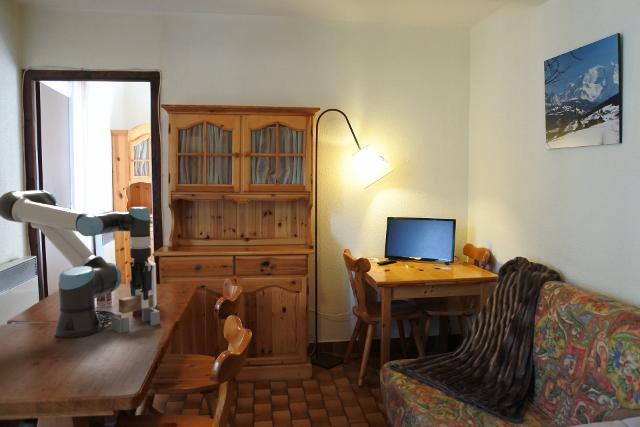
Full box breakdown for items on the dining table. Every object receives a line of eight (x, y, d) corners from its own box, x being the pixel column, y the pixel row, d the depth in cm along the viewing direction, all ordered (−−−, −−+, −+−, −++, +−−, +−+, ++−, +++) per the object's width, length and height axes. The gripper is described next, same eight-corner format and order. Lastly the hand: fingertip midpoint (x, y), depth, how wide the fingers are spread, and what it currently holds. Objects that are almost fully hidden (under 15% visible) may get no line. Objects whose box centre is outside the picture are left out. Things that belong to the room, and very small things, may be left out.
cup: (142, 317, 203) (141, 281, 201) (127, 316, 204) (126, 280, 203) (151, 313, 209) (150, 278, 208) (136, 312, 211) (135, 277, 209)
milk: (140, 308, 216) (138, 258, 214) (142, 305, 222) (141, 256, 220) (155, 308, 217) (153, 258, 215) (156, 304, 223) (155, 255, 221)
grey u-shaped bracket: (120, 326, 191) (120, 313, 191) (129, 330, 186) (129, 317, 186) (111, 328, 189) (111, 315, 188) (120, 333, 184) (120, 319, 183)
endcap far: (151, 325, 193) (151, 312, 192) (142, 321, 198) (142, 309, 197) (159, 323, 195) (159, 311, 195) (150, 319, 200) (150, 307, 200)
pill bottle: (109, 303, 224) (108, 279, 223) (113, 306, 219) (113, 281, 218) (94, 305, 220) (94, 280, 219) (98, 308, 216) (98, 283, 215)
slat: (123, 313, 186) (123, 300, 185) (119, 311, 188) (118, 298, 188) (152, 307, 195) (152, 294, 194) (148, 305, 197) (147, 293, 197)
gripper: (160, 248, 188) (162, 308, 190) (139, 243, 199) (140, 301, 201) (142, 250, 183) (143, 312, 185) (121, 245, 194) (122, 304, 196)
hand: (142, 306), depth 193 cm, fingers closed on slat, 4 cm apart
